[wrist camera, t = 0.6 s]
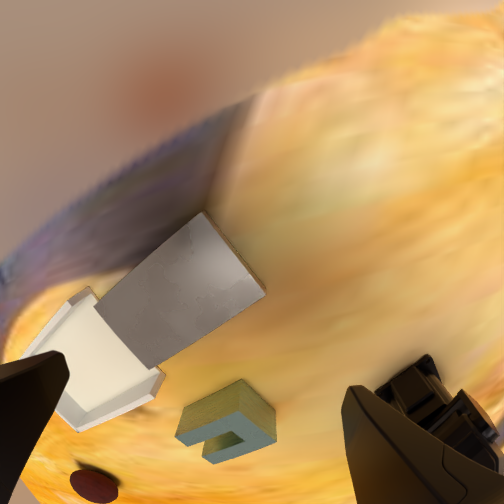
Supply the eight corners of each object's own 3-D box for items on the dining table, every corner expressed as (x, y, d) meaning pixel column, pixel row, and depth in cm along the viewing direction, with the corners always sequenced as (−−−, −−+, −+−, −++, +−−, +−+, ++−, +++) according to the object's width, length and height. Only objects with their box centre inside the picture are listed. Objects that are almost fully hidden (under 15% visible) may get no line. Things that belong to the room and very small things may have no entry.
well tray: (165, 375, 22) (154, 398, 19) (89, 415, 25) (77, 432, 22) (88, 286, 21) (67, 300, 18) (31, 351, 23) (15, 364, 20)
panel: (265, 288, 20) (266, 294, 19) (153, 362, 22) (148, 370, 21) (204, 210, 19) (201, 211, 18) (99, 301, 21) (93, 306, 20)
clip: (275, 410, 23) (276, 441, 19) (218, 435, 24) (213, 464, 20) (241, 378, 22) (238, 410, 18) (184, 407, 23) (174, 436, 19)
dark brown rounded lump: (70, 456, 28) (56, 480, 22) (111, 468, 28) (98, 496, 22) (92, 480, 30) (81, 503, 24) (132, 491, 29) (123, 517, 23)
